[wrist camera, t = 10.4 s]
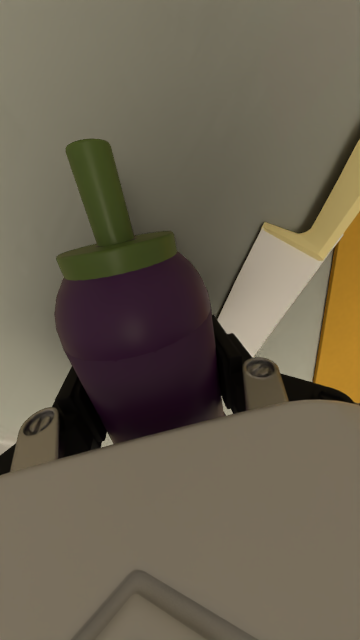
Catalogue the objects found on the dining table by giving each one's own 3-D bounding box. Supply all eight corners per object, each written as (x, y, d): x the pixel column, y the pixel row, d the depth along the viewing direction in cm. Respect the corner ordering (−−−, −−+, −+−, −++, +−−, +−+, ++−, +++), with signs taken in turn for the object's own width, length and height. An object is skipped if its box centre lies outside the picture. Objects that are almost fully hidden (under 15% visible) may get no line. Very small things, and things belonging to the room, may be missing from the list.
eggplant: (24, 184, 8) (-276, 95, 2) (184, 155, 8) (267, 15, 3) (137, 441, 15) (132, 571, 10) (219, 420, 16) (261, 533, 10)
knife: (141, 434, 18) (187, 453, 19) (491, -157, 7) (581, -72, 8) (144, 422, 20) (187, 440, 20) (448, -100, 8) (528, -30, 9)
